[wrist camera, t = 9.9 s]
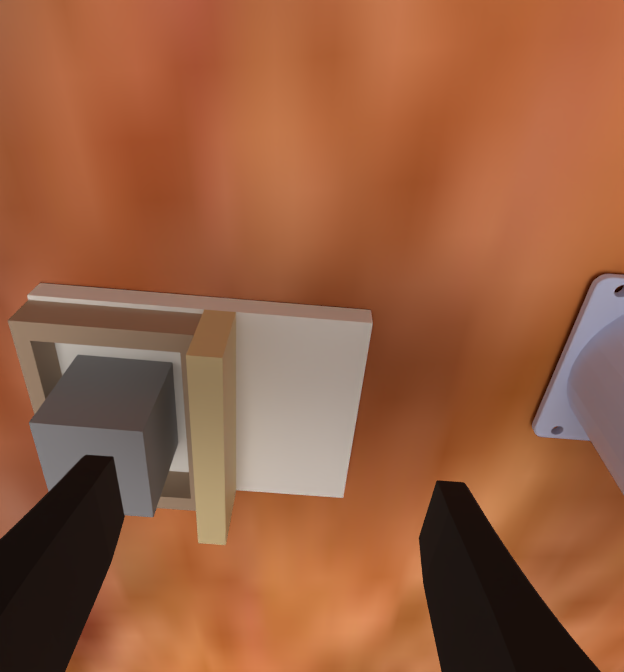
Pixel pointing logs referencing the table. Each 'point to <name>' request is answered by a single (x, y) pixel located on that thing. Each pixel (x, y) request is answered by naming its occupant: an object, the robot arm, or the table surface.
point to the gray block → (112, 425)
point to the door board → (218, 384)
